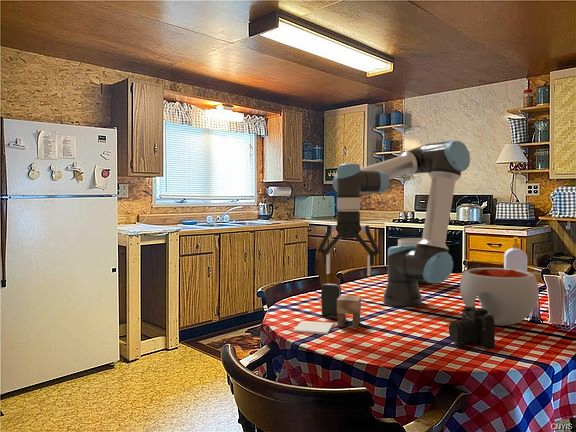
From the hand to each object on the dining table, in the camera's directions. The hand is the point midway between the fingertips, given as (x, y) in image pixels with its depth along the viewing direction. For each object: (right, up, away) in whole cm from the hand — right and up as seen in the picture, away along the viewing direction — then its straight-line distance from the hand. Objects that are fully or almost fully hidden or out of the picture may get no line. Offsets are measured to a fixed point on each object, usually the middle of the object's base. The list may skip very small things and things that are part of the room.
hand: (348, 274), depth 153 cm
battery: (-4, -17, +14) cm, 22 cm away
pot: (+51, -17, +2) cm, 53 cm away
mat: (-12, -17, -3) cm, 21 cm away
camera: (+33, -18, -19) cm, 42 cm away
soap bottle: (+87, -14, +64) cm, 109 cm away
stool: (0, -17, +1) cm, 17 cm away
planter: (+44, -14, +72) cm, 86 cm away
